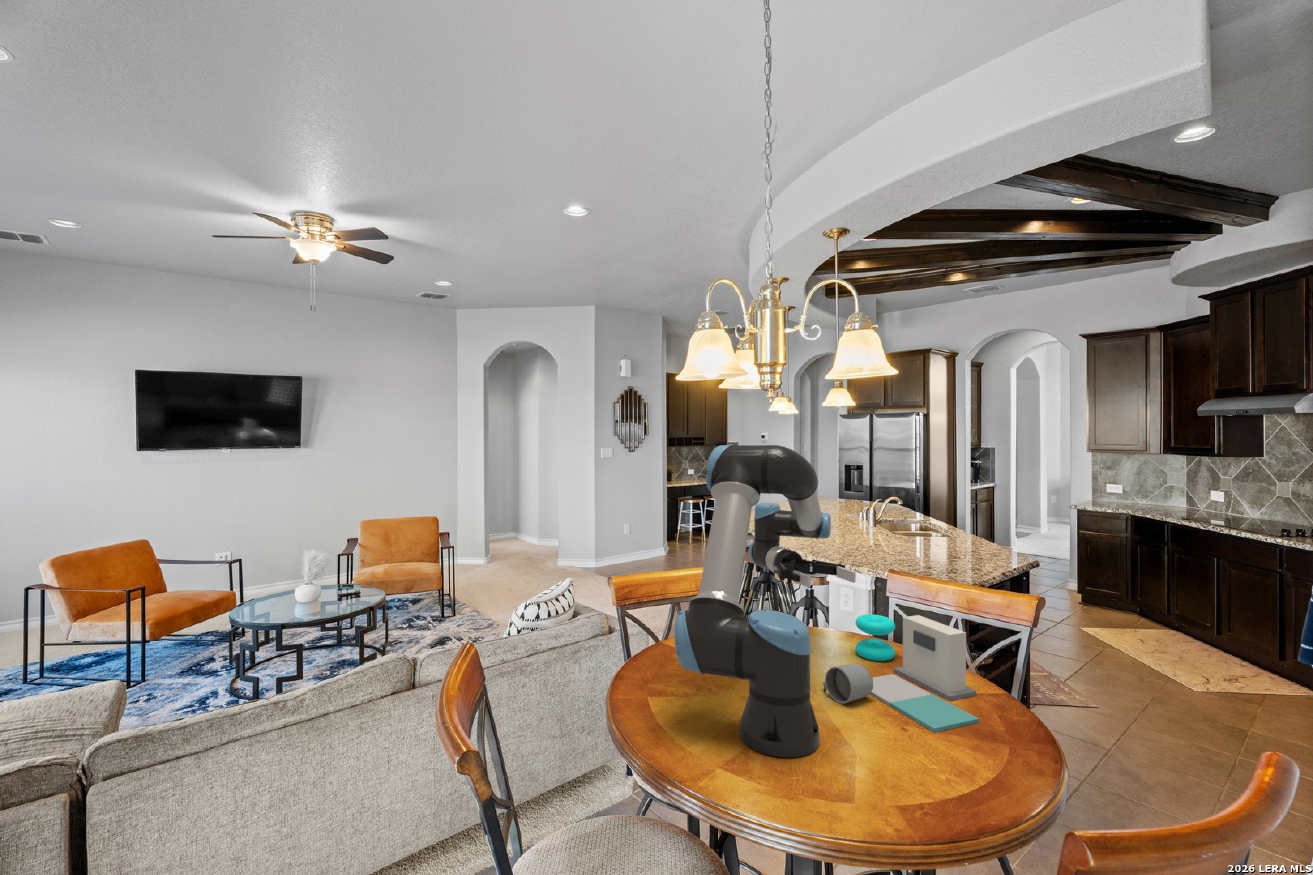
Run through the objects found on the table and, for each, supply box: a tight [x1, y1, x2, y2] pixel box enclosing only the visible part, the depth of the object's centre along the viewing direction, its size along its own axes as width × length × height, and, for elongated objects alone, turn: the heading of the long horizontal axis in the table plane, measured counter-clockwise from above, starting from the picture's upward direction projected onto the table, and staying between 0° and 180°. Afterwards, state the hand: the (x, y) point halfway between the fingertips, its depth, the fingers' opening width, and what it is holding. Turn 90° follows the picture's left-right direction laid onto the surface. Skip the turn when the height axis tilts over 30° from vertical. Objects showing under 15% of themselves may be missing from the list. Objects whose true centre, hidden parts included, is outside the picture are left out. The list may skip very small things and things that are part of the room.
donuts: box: [855, 614, 896, 662], centre depth 155 cm, size 10×10×10 cm
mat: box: [869, 673, 980, 733], centre depth 127 cm, size 12×24×1 cm, turn 21°
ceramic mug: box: [822, 663, 873, 705], centre depth 130 cm, size 11×8×8 cm
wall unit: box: [893, 614, 977, 702], centre depth 137 cm, size 8×17×14 cm, turn 21°
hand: (832, 579), depth 144 cm, fingers open, 13 cm apart
